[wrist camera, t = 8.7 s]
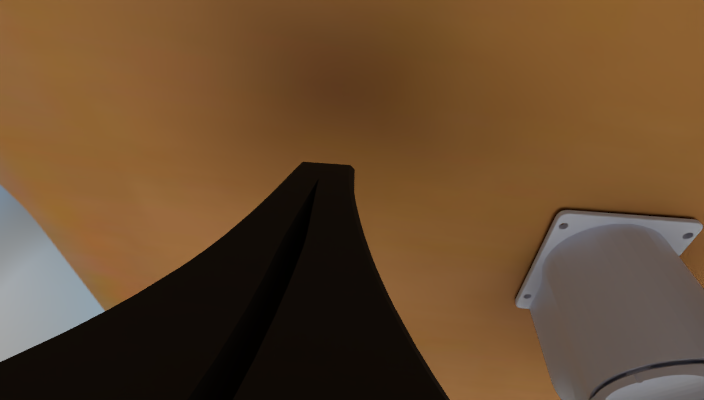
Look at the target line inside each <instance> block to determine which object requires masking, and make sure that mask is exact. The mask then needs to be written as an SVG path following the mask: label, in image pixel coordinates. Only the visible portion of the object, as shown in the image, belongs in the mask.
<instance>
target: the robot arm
mask: <svg viewBox="0 0 704 400" xmlns="http://www.w3.org/2000/svg"><path fill="white" fill-rule="evenodd" d="M354 171H355V169H354V168H353V167H352V166H351V165H340V164H326V163H312V162H302V163H301V164H300V165H299V166H298V167H297V168H296V169H295V170H294V171H293V172H292V173H291V174H290V175H289V176H288V177H287V178H286V179H285V180H284V181H283V182H282V183H281V184H280V185H279V186H278V187H277V188H276V189H275V190H274V191H273V192H272V193H271V194H270V195H269V196H268V197H267V198H266V199H265V200H264V201H263V202H262V203H261V204H260V205H259V206H258V207H257V208H255V209H254V210H253V211H252V212H251V213H250V214H249V215H248V216H247V217H245V218H244V219H243V220H242V221H241V222H239V223H238V224H237V225H236V226H235V227H234V228H232V229H231V230H230V231H229V232H228V233H227V234H225V235H224V236H223V237H222V238H220V239H219V240H218V241H216V242H215V243H214V244H213V245H211V246H210V247H209V248H207V249H206V250H204V251H203V252H202V253H200V254H199V255H197V256H196V257H195V258H193V259H192V260H190V261H189V262H187V263H186V264H184V265H183V266H181V267H180V268H178V269H177V270H175V271H173V272H172V273H170V274H168V275H167V276H165V277H164V278H162V279H160V280H159V281H157V282H155V283H154V284H152V285H151V286H149V287H147V288H146V289H144V290H142V291H141V292H139V293H138V294H136V295H134V296H132V297H131V298H129V299H127V300H125V301H123V302H121V303H120V304H118V305H116V306H114V307H112V308H111V309H109V310H107V311H105V312H103V313H102V314H99V315H97V316H95V317H93V318H92V319H90V320H88V321H86V322H84V323H82V324H80V325H78V326H76V327H74V328H72V329H70V330H68V331H66V332H64V333H62V334H60V335H58V336H56V337H54V338H51V339H49V340H47V341H45V342H43V343H41V344H39V345H36V346H34V347H32V348H30V349H28V350H26V351H24V352H21V353H19V354H17V355H15V356H13V357H10V358H8V359H6V360H4V361H2V362H0V400H450V399H449V398H448V396H447V395H446V393H445V392H444V390H443V389H442V387H441V386H440V384H439V383H438V381H437V379H436V378H435V376H434V375H433V373H432V372H431V370H430V368H429V367H428V365H427V363H426V362H425V360H424V359H423V357H422V355H421V354H420V352H419V350H418V349H417V347H416V345H415V344H414V342H413V340H412V338H411V336H410V334H409V333H408V331H407V329H406V327H405V325H404V324H403V322H402V320H401V318H400V316H399V314H398V313H397V311H396V309H395V307H394V305H393V303H392V301H391V299H390V297H389V295H388V293H387V291H386V289H385V286H384V284H383V282H382V280H381V278H380V275H379V273H378V271H377V268H376V266H375V263H374V261H373V258H372V256H371V253H370V250H369V248H368V245H367V242H366V239H365V236H364V233H363V229H362V226H361V222H360V218H359V214H358V210H357V206H356V201H355V195H354ZM562 223H565V224H563V225H560V224H562ZM702 228H703V225H702V224H701V223H700V222H699V221H698V220H695V219H683V218H669V217H656V216H642V215H629V214H616V213H602V212H589V211H575V210H563V211H561V212H559V213H558V214H557V215H556V217H555V219H554V221H553V223H552V225H551V227H550V229H549V231H548V233H547V235H546V237H545V239H544V242H543V244H542V246H541V248H540V250H539V252H538V254H537V256H536V258H535V260H534V262H533V264H532V266H531V268H530V270H529V272H528V275H527V277H526V279H525V281H524V283H523V285H522V287H521V289H520V291H519V293H518V295H517V297H516V299H515V304H516V306H517V307H519V308H525V309H530V312H531V316H532V319H533V322H534V326H535V329H536V332H537V335H538V339H539V342H540V345H541V349H542V352H543V355H544V359H545V362H546V365H547V368H548V372H549V375H550V378H551V381H552V384H553V386H554V388H555V390H556V392H557V394H558V395H559V397H560V398H561V400H704V289H703V287H702V286H701V285H700V283H699V282H698V281H697V279H696V278H695V277H694V276H693V274H692V273H691V272H690V270H689V269H688V268H687V266H686V265H685V264H684V262H683V261H682V260H681V259H680V257H679V256H680V255H681V254H682V252H683V251H684V250H685V249H686V248H687V247H688V245H689V244H690V243H691V242H692V241H693V240H694V238H695V237H696V236H697V235H698V234H699V233H700V231H701V230H702Z"/></svg>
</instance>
